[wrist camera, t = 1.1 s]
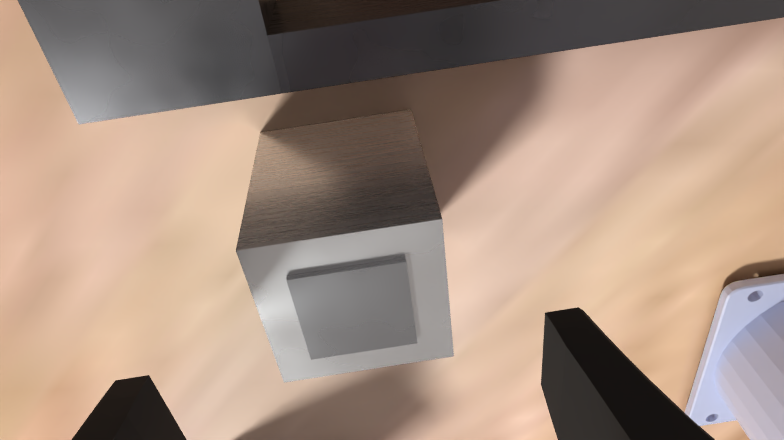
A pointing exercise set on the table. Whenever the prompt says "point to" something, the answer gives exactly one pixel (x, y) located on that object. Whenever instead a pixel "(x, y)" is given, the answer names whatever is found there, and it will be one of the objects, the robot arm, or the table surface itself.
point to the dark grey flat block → (322, 42)
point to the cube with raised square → (346, 247)
